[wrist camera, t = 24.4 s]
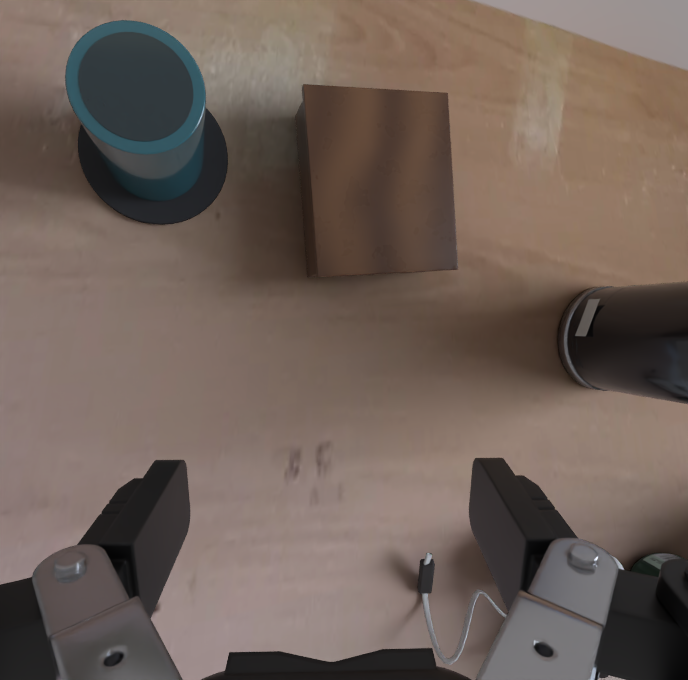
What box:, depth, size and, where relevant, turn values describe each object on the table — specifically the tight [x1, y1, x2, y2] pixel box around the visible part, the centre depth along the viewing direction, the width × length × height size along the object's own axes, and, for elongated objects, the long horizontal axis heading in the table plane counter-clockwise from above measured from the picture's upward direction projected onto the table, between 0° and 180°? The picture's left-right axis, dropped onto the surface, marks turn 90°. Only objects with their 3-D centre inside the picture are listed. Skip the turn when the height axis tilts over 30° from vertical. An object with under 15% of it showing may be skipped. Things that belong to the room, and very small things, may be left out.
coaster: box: [78, 107, 228, 225], centre depth 34 cm, size 10×10×1 cm
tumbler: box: [65, 20, 206, 201], centre depth 29 cm, size 6×6×10 cm
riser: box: [295, 84, 458, 277], centre depth 36 cm, size 11×13×4 cm
